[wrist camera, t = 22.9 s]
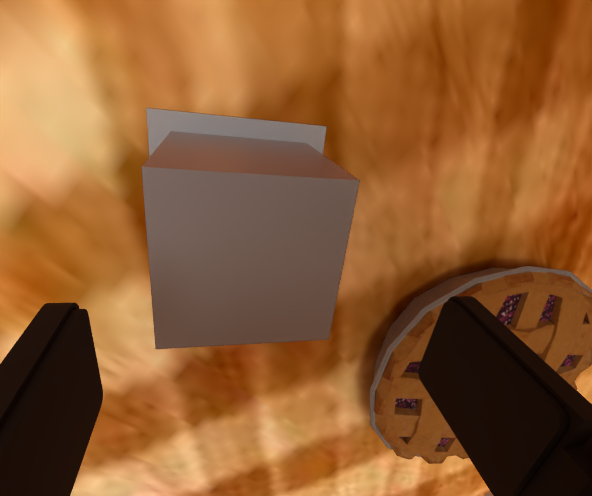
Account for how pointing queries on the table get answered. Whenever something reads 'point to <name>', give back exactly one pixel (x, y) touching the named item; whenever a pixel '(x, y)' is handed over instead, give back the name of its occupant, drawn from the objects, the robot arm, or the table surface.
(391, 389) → the pie
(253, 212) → the grey block
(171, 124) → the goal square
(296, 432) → the table surface
